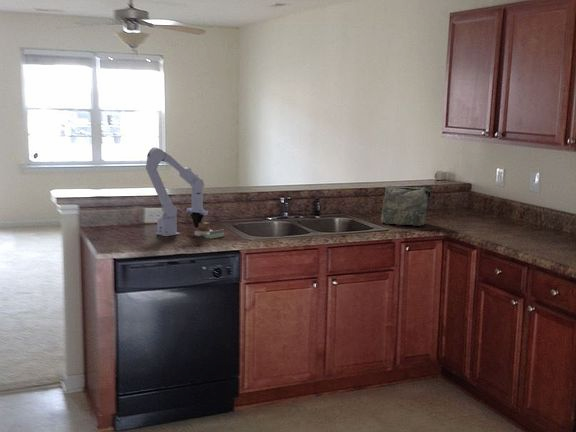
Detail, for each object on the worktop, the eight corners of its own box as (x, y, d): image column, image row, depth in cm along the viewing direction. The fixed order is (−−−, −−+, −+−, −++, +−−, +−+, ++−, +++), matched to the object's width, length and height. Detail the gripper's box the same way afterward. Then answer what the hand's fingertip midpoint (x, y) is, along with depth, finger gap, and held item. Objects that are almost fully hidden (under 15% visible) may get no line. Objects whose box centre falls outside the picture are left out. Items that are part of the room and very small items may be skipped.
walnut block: (203, 231, 336) (203, 223, 335) (198, 230, 338) (198, 222, 338) (209, 230, 339) (209, 223, 338) (204, 229, 341) (204, 221, 341)
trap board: (210, 238, 329) (210, 231, 328) (194, 235, 337) (194, 228, 336) (223, 236, 336) (223, 229, 335) (207, 232, 343) (208, 226, 343)
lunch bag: (430, 223, 389) (432, 186, 386) (423, 228, 373) (426, 189, 369) (386, 219, 399) (388, 183, 395) (378, 224, 382) (380, 186, 379)
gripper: (212, 202, 338) (212, 228, 340) (193, 198, 347) (193, 224, 350) (202, 203, 333) (201, 230, 335) (183, 200, 342) (183, 226, 344)
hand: (197, 227), depth 342 cm, fingers closed
